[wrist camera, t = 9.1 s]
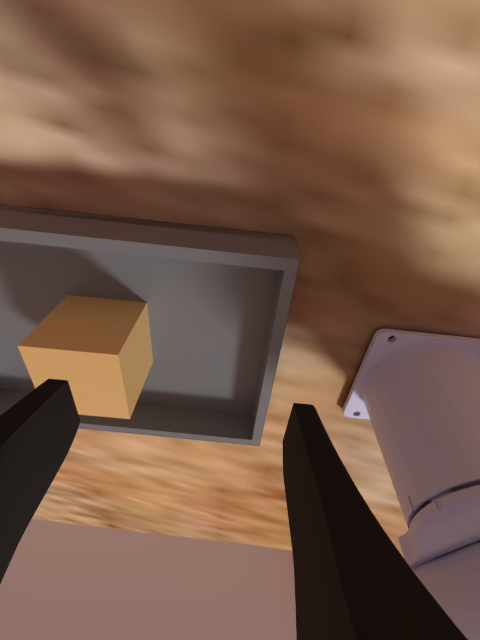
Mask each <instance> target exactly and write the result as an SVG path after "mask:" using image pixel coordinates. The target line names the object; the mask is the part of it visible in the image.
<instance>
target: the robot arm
mask: <svg viewBox="0 0 480 640" xmlns="http://www.w3.org/2000/svg"><path fill="white" fill-rule="evenodd" d="M391 336H394V337H393V338H391V339H388V338H389V337H391ZM342 412H343V415H344V416H346V417H351V418H361V419H370V420H371V423H372V426H373V429H374V432H375V435H376V437H377V440H378V443H379V446H380V449H381V452H382V455H383V457H384V460H385V463H386V466H387V469H388V472H389V474H390V477H391V480H392V483H393V486H394V489H395V491H396V494H397V497H398V500H399V503H400V506H401V508H402V511H403V514H404V517H405V520H406V523H407V525H408V528H409V530H408V531H407V532H406V533H405V534H404V535H402V536H400V537H399V538H398V539H399V542H400V545H401V549H402V552H403V555H404V558H405V559H404V558H403V557H402V555H401V554H400V553H399V551H398V550H397V548H396V547H395V546H394V544H393V543H392V541H391V540H390V538H389V537H388V536H387V534H386V533H385V531H384V530H383V528H382V527H381V525H380V524H379V522H378V521H377V519H376V518H375V516H374V515H373V513H372V512H371V510H370V508H369V507H368V505H367V504H366V502H365V500H364V499H363V497H362V496H361V494H360V492H359V491H358V489H357V487H356V486H355V484H354V482H353V481H352V479H351V477H350V475H349V474H348V472H347V470H346V468H345V466H344V465H343V463H342V461H341V459H340V457H339V456H338V454H337V452H336V450H335V448H334V446H333V444H332V442H331V440H330V438H329V436H328V434H327V432H326V430H325V428H324V426H323V424H322V422H321V420H320V418H319V415H318V413H317V411H316V409H315V407H314V406H313V405H308V404H298V403H294V404H293V407H292V411H291V414H290V418H289V421H288V425H287V428H286V432H285V435H284V439H283V475H284V484H285V492H286V501H287V509H288V517H289V525H290V533H291V542H292V550H293V561H294V574H295V575H294V576H295V599H296V627H297V628H296V629H297V640H480V338H470V337H461V336H451V335H442V334H432V333H422V332H413V331H403V330H393V329H380V330H377V331H376V332H375V333H374V335H373V338H372V340H371V342H370V345H369V347H368V349H367V352H366V354H365V357H364V359H363V361H362V364H361V366H360V368H359V371H358V373H357V375H356V378H355V380H354V382H353V385H352V387H351V389H350V392H349V394H348V397H347V399H346V401H345V404H344V406H343V408H342ZM80 422H81V421H80V418H79V415H78V412H77V408H76V405H75V402H74V399H73V395H72V392H71V389H70V386H69V382H68V380H58V379H47V380H46V381H45V382H43V383H42V384H41V385H39V386H38V387H37V388H35V389H34V390H33V391H31V392H30V393H29V394H28V395H26V396H25V397H24V398H22V399H21V400H20V401H18V402H17V403H16V404H14V405H13V406H12V407H11V408H9V409H8V410H7V411H5V412H4V413H3V414H1V415H0V583H1V581H2V579H3V577H4V574H5V572H6V570H7V568H8V565H9V563H10V561H11V559H12V557H13V554H14V552H15V550H16V548H17V545H18V543H19V541H20V539H21V537H22V535H23V534H24V532H25V530H26V528H27V526H28V524H29V522H30V520H31V519H32V517H33V515H34V513H35V511H36V510H37V508H38V506H39V504H40V502H41V501H42V499H43V497H44V495H45V494H46V492H47V490H48V488H49V486H50V485H51V483H52V481H53V479H54V477H55V476H56V474H57V472H58V470H59V468H60V466H61V465H62V463H63V461H64V459H65V457H66V455H67V454H68V451H69V449H70V447H71V444H72V442H73V440H74V437H75V435H76V432H77V429H78V427H79V424H80Z"/></svg>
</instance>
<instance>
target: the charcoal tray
mask: <svg viewBox="0 0 480 640" xmlns="http://www.w3.org/2000/svg"><path fill="white" fill-rule="evenodd" d="M299 263H300V257H299V253H298V250H297V246H296V242H295V238H294V236H290V235H280V234H271V233H262V232H253V231H243V230H234V229H225V228H215V227H206V226H197V225H188V224H178V223H169V222H160V221H150V220H141V219H132V218H123V217H113V216H104V215H95V214H85V213H76V212H67V211H58V210H48V209H39V208H30V207H21V206H11V205H2V204H0V415H1V414H3V413H4V412H5V411H7V410H8V409H9V408H11V407H12V406H13V405H14V404H16V403H17V402H18V401H20V400H21V399H22V398H24V397H25V396H26V395H28V394H29V393H30V392H31V391H33V390H34V389H35V387H34V384H33V382H32V379H31V377H30V375H29V372H28V370H27V367H26V365H25V363H24V360H23V358H22V355H21V353H20V351H19V348H18V345H19V344H20V343H21V342H22V341H23V340H24V339H25V338H26V337H27V336H28V335H29V333H30V332H31V331H32V330H33V329H34V328H35V327H36V326H37V325H38V324H39V323H40V322H41V321H42V320H43V319H44V318H45V317H46V316H47V315H48V314H49V313H50V312H51V311H52V310H53V309H54V308H55V307H56V306H57V305H58V304H59V303H60V302H61V301H62V300H63V299H64V298H65V297H66V296H67V295H73V296H84V297H94V298H105V299H116V300H126V301H137V302H147V306H148V316H149V326H150V336H151V346H152V356H153V363H152V366H151V368H150V371H149V373H148V375H147V378H146V380H145V383H144V385H143V388H142V390H141V393H140V395H139V398H138V400H137V403H136V405H135V408H134V410H133V413H132V415H131V418H130V419H123V418H112V417H101V416H90V415H79V414H78V415H79V418H80V421H81V422H80V424H79V427H78V428H80V429H90V430H100V431H111V432H121V433H131V434H141V435H152V436H162V437H172V438H182V439H192V440H203V441H213V442H223V443H233V444H244V445H254V446H260V442H261V437H262V432H263V428H264V423H265V419H266V414H267V410H268V405H269V400H270V396H271V391H272V387H273V382H274V377H275V373H276V368H277V364H278V359H279V355H280V350H281V345H282V341H283V336H284V332H285V327H286V322H287V318H288V313H289V309H290V304H291V300H292V295H293V290H294V286H295V281H296V277H297V272H298V268H299Z"/></svg>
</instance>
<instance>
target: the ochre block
mask: <svg viewBox="0 0 480 640" xmlns="http://www.w3.org/2000/svg"><path fill="white" fill-rule="evenodd" d="M18 348H19V351H20V353H21V355H22V358H23V360H24V363H25V365H26V367H27V370H28V372H29V375H30V377H31V379H32V382H33V384H34V387H35V388H37V387H38V386H39V385H41V384H42V383H43V382H45V381H46V380H47V379H58V380H68V382H69V386H70V389H71V392H72V395H73V399H74V402H75V405H76V408H77V412H78V414H79V415H90V416H101V417H112V418H123V419H130V418H131V415H132V413H133V410H134V408H135V405H136V403H137V400H138V398H139V395H140V393H141V390H142V388H143V385H144V383H145V380H146V378H147V375H148V373H149V371H150V368H151V366H152V363H153V356H152V346H151V336H150V326H149V316H148V306H147V302H137V301H126V300H116V299H105V298H94V297H84V296H73V295H67V296H66V297H65V298H64V299H63V300H62V301H61V302H60V303H59V304H58V305H57V306H56V307H55V308H54V309H53V310H52V311H51V312H50V313H49V314H48V315H47V316H46V317H45V318H44V319H43V320H42V321H41V322H40V323H39V324H38V325H37V326H36V327H35V328H34V329H33V330H32V331H31V332H30V333H29V335H28V336H27V337H26V338H25V339H24V340H23V341H22V342H21V343H20V344H19V345H18Z"/></svg>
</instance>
